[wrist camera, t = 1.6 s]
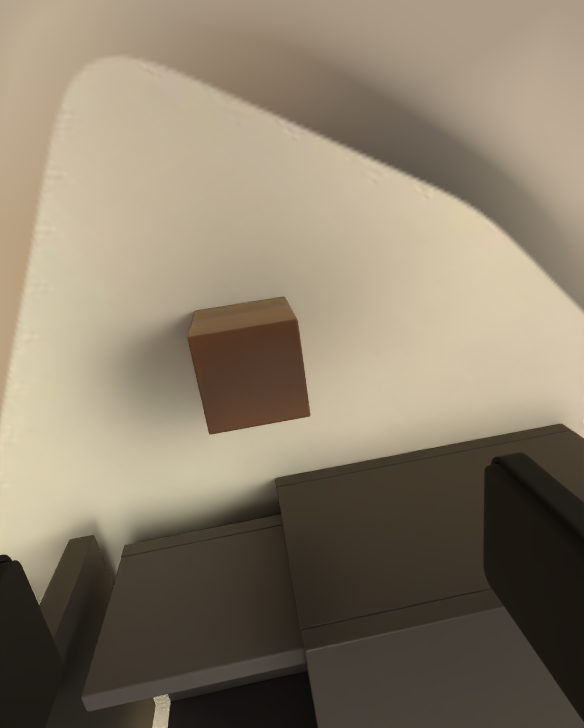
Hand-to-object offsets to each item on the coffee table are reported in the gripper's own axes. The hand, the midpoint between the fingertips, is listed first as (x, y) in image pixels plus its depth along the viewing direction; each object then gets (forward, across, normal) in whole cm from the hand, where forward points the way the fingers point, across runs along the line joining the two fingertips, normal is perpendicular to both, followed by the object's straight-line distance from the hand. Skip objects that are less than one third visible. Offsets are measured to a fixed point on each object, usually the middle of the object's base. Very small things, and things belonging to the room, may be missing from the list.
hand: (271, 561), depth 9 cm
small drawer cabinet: (+13, -8, +13) cm, 20 cm away
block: (+13, 0, -1) cm, 13 cm away
